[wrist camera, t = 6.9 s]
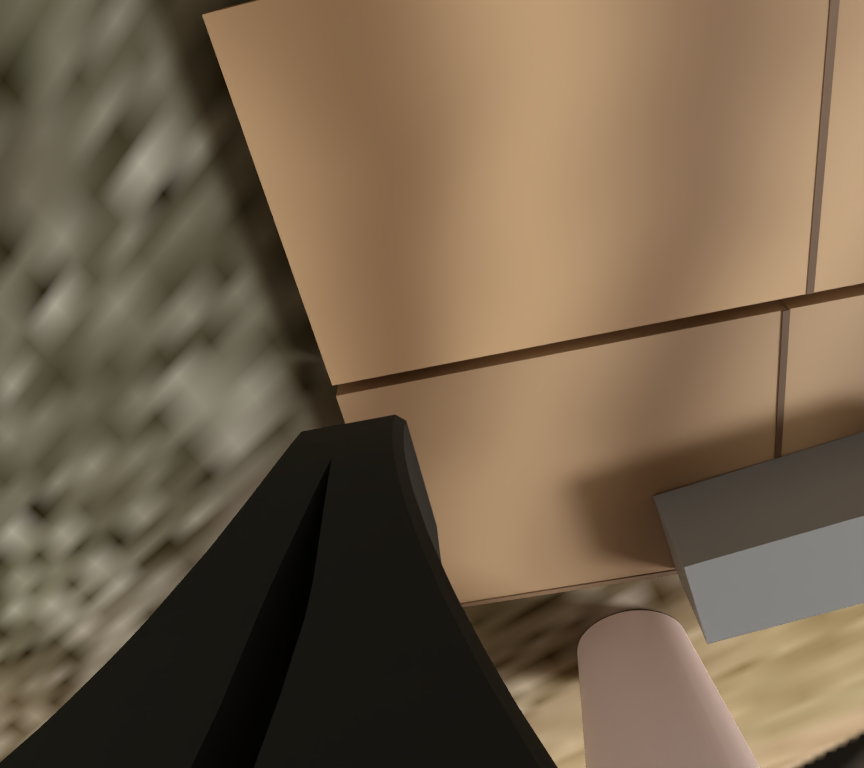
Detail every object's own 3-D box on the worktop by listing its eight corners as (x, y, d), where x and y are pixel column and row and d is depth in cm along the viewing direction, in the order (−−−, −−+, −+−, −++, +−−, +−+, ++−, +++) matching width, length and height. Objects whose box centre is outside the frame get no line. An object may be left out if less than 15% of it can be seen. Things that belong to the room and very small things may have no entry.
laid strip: (1007, 239, 16) (1048, 260, 15) (948, 497, 20) (976, 528, 19) (340, 370, 18) (335, 396, 17) (411, 583, 22) (411, 615, 21)
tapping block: (932, 410, 17) (1006, 475, 15) (935, 496, 19) (1002, 566, 16) (652, 496, 18) (684, 567, 16) (676, 570, 20) (707, 643, 18)
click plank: (337, 359, 18) (332, 386, 16) (218, 9, 13) (201, 14, 12) (1011, 227, 16) (1051, 247, 15) (1119, -222, 12) (1187, -237, 11)
